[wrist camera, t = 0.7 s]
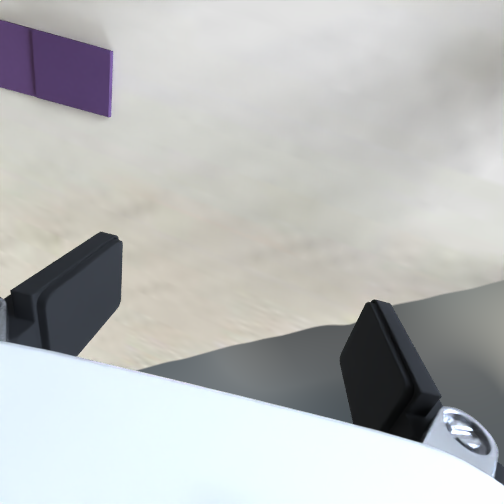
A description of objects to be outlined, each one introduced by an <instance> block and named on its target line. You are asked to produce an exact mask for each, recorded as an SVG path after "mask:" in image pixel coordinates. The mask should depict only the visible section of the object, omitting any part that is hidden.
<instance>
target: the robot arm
mask: <svg viewBox="0 0 504 504" xmlns="http://www.w3.org/2000/svg"><path fill="white" fill-rule="evenodd" d="M122 248H123V244H122V241H120V240H119V239H118V236H116V235H112V234H108V233H104V232H99V233H98V234H96V235H95V236H93V237H91V238H90V239H88V240H87V241H85V242H84V243H82V244H81V245H79V246H78V247H76V248H75V249H73V250H72V251H70V252H69V253H67V254H65V255H64V256H62V257H61V258H59V259H58V260H56V261H55V262H53V263H52V264H50V265H49V266H47V267H46V268H44V269H43V270H41V271H39V272H38V273H36V274H35V275H33V276H32V277H30V278H29V279H27V280H26V281H24V282H23V283H21V284H20V285H18V286H17V287H15V288H13V289H12V290H10V291H11V295H9V296H8V297H6V298H5V299H2V298H1V297H0V504H504V467H503V466H502V465H501V464H500V463H498V462H497V460H498V448H497V445H496V443H495V441H494V439H493V438H492V437H491V435H490V434H489V432H488V431H487V430H486V429H485V428H484V427H483V426H482V425H481V424H480V423H479V422H478V421H476V420H475V419H474V418H473V417H471V416H470V415H468V414H466V413H465V412H463V411H461V410H458V409H456V408H453V407H443V406H442V404H441V402H440V400H439V399H440V398H441V394H440V393H439V391H438V389H437V387H436V385H435V383H434V382H433V380H432V378H431V376H430V374H429V373H428V371H427V369H426V367H425V365H424V364H423V362H422V360H421V358H420V356H419V354H418V353H417V351H416V349H415V347H414V345H413V344H412V342H411V340H410V338H409V336H408V335H407V333H406V331H405V329H404V327H403V325H402V324H401V322H400V320H399V318H398V317H397V315H396V313H395V311H394V309H393V307H392V306H391V304H390V303H386V302H382V301H378V300H372V301H371V302H367V303H366V304H365V306H364V308H363V310H362V312H361V314H360V316H359V318H358V320H357V322H356V324H355V326H354V328H353V330H352V332H351V334H350V336H349V338H348V340H347V342H346V345H345V347H344V349H343V351H342V353H341V356H340V365H341V370H342V375H343V379H344V384H345V388H346V393H347V397H348V402H349V406H350V411H351V415H352V420H353V424H350V423H346V422H343V421H339V420H335V419H331V418H327V417H323V416H318V415H315V414H311V413H307V412H302V411H298V410H294V409H291V408H286V407H283V406H279V405H275V404H270V403H267V402H262V401H259V400H255V399H250V398H246V397H242V396H238V395H234V394H229V393H226V392H222V391H218V390H214V389H209V388H205V387H201V386H197V385H193V384H189V383H185V382H181V381H177V380H172V379H168V378H164V377H160V376H156V375H152V374H147V373H143V372H139V371H135V370H131V369H126V368H122V367H118V366H114V365H110V364H105V363H101V362H97V361H93V360H89V359H84V358H80V357H77V356H78V354H79V353H80V352H81V351H82V350H83V348H84V347H85V346H86V345H87V344H88V343H89V341H90V340H91V339H92V338H93V337H94V335H95V334H96V333H97V332H98V331H99V330H100V328H101V327H102V326H103V325H104V324H105V322H106V321H107V320H108V319H109V318H110V317H111V315H112V314H113V313H114V312H115V311H116V309H117V308H118V307H119V304H120V301H121V281H122Z"/></svg>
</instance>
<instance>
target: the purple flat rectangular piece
mask: <svg viewBox="0 0 504 504" xmlns="http://www.w3.org/2000/svg"><path fill="white" fill-rule="evenodd" d="M112 68H113V51H111V50H107V49H104V48H100V47H97V46H93V45H89V44H86V43H82V42H79V41H75V40H71V39H68V38H64V37H61V36H57V35H53V34H50V33H46V32H43V31H39V30H36V29H31V28H28V27H24V26H21V25H17V24H13V23H10V22H6V21H3V20H0V87H2V88H6V89H9V90H13V91H16V92H20V93H24V94H27V95H31V96H35V97H37V98H41V99H44V100H48V101H52V102H55V103H59V104H63V105H66V106H70V107H74V108H77V109H81V110H84V111H88V112H92V113H95V114H99V115H103V116H106V117H111V99H112Z"/></svg>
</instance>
